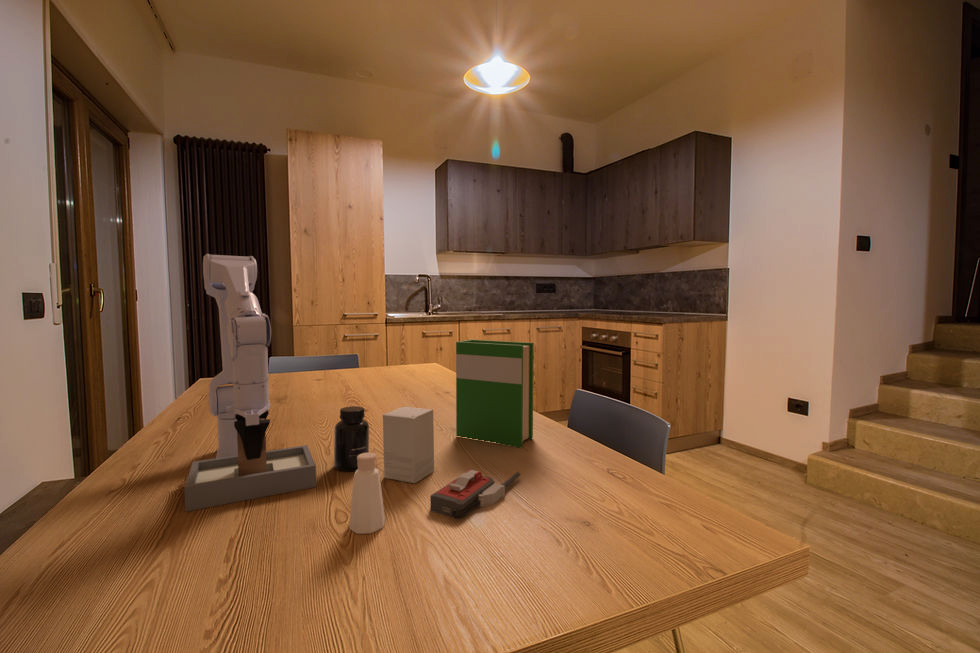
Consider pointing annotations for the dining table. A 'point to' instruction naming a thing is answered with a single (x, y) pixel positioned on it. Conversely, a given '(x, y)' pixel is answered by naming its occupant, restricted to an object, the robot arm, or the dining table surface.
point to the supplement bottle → (350, 438)
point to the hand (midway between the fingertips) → (253, 454)
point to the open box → (248, 478)
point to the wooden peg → (254, 464)
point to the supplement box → (408, 444)
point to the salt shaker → (366, 497)
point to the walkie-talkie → (468, 494)
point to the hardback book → (494, 391)
